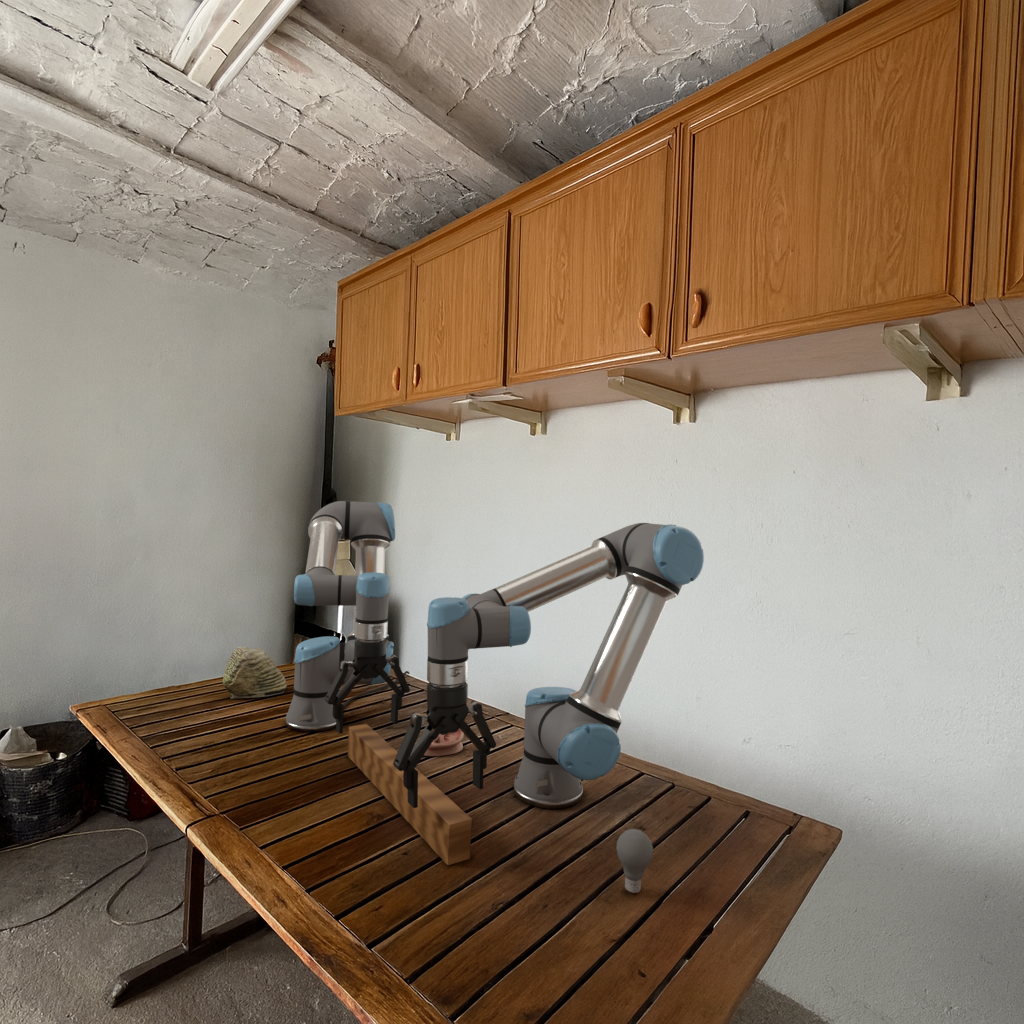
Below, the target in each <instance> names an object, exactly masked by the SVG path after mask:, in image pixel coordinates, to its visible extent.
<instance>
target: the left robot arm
mask: <svg viewBox="0 0 1024 1024" xmlns="http://www.w3.org/2000/svg"><path fill="white" fill-rule="evenodd" d="M307 533H308V537H309V539H310V540H309V547H308V553H307V559H306V567H305V573H303V574H298V575H296V577H295V578H294V584H293V585H294V586H293V587H294V588H293V600H294V604H296V605H298V606H309V607H313V606H314V607H318V606H325V607H327V606H341V607H342V606H345V607H346V606H348V607H349V606H350V607H351V606H352V607H353V623H352V624H353V625H352V631H351V632H350V633H349V634H348V635H347V638H346V639H347V641H346V642H341V640H340V638H339V637H337V636H330V635H329V636H328V635H327V636H319V637H313V638H309V639H306V640H303V641H302V642H299V643H298V644H297V645H296V648H295V655H294V660H293V663H294V674H293V675H294V680H293V695H292V696H293V697H292V699H291V702H290V704H289V708H288V711H287V713H286V715H285V726H286V728H287V729H289V730H291V731H294V732H295V731H296V732H301V733H316V732H325V731H329V730H332V729H335V731H336V732H337V733H338V734H339V735H340V734H341V735H342V734H344V715H345V714H344V713H345V712H344V710H345V707H346V706H347V705H348V704H349V703H350V702H351V701H353V700H355V699H358V698H361V697H363V696H366V695H370V694H372V693H375V692H379V691H381V690H383V689H386V688H388V687H389V688H390V689H391V690H392V691H393V692H394V693H391V700H390V721H391V723H393V724H394V725H397V724H399V710H400V709H402V706H403V697H405V694H406V693H407V694H409V693H410V691H411V689H410V686H409V684H408V682H407V679H406V677H405V676H406V674H407V675H411V674H410V672H409V670H406V671H404V672H403V670H402V668H401V666H400V658H399V656H396V655H395V654H394V646H395V643H394V642H393V641H391V640H390V641H389V638H390V637H389V636H390V635H389V634H388V624H389V621H388V620H389V602H390V591H391V587H390V577H389V575H388V574H386V573H385V572H386V571H385V570H386V551H387V550H388V549H389V548H390V547H391V542H394V541H395V540H396V521H395V514H394V509H393V507H392V505H390V504H389V503H387V502H379V501H347V500H338V501H334V502H330V503H328V504H326V505H324V506H323V507H321V508H320V509H319V510H318V511H317V512H315V514H314V515H313V516H312V517H311V519H310V521H309V524H308V530H307ZM340 540H348V541H350V547H352V548H353V549H354V550H355V563H354V564H355V567H354V575H353V574H351V575H350V574H349V575H347V574H337V563H338V550H339V549H338V548H339V541H340ZM391 669H392V670H393V672H394V675H395V677H396V679H395V680H393V679H392V678H391V677H390V674H391ZM385 683H386V684H385ZM396 683H398V684H399V686H400V687H399V686H398V685H397V684H396ZM380 684H385V685H383V686H380V687H378V688H374V689H371V690H369V691H365V692H363V693H359V694H357V695H354V696H352V697H350V698H348V699H347V700H346V701H345V699H346V698H347V697H348V696H349V694H350V693H351V692H352V691H353V689H354V688H355V687H356V686H362V685H370V686H373V685H380ZM344 701H345V702H344ZM343 702H344V703H343Z"/></svg>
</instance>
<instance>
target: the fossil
mask: <svg viewBox="0 0 1024 1024" xmlns="http://www.w3.org/2000/svg"><path fill="white" fill-rule="evenodd" d="M222 676H223V677H222V685H223V687H224V688H225V690H226V691H228V693H229V698H230V699H250V698H264V697H271V696H275V695H281V694H284V693H285V691H286V689H287V687H288V686H287V680H286V678H285V676H284V674H283V673H282V672H281V669H279V668H278V667H277V665H276V663H275V662H274V660H273V659H272V658H271V657H270V656H269V655H268V654H267V653H266V652H265V650H264V649H263V648H260V647H258V648H251V647H247V646H246V647H245V646H238V647H237V648H236V649H235V650H233V651H232V653H231V656H230V657H229V659H228V660H227V663H226V666H225V668H224V671H223V675H222Z"/></svg>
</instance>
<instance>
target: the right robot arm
mask: <svg viewBox="0 0 1024 1024" xmlns="http://www.w3.org/2000/svg"><path fill="white" fill-rule="evenodd" d="M590 545H591V546H590V547H587V548H585V549H582V550H580V551H578V552H575V553H573V554H571V555H569V556H566V557H564V558H561V559H559V560H556V561H555V562H551V563H550V564H547V565H545V566H543V567H541V568H538V569H536V570H534V571H532V572H530V573H527V574H525V575H522V576H520V577H517V578H515V579H513V580H511V581H508V582H506V583H503V584H501V585H498V586H497V587H494V588H492V589H490V590H487V591H484V592H482V593H477V592H476V593H468V594H466V595H464V596H462V597H456V596H455V597H451V596H448V597H447V596H446V597H437V598H434V599H432V600H431V601H430V602H429V604H428V611H427V622H426V627H427V661H426V662H427V663H426V681H427V682H428V683H427V684H426V707H427V708H426V710H425V712H424V713H418V712H416V711H413V712H411V713H410V718H409V724H408V727H407V730H406V732H405V734H404V736H403V739H402V742H401V743H400V746H399V747H398V750H397V752H398V753H397V755H396V757H395V760H394V762H393V765H394V766H395V767H396V768H397V769H398V770H399V771H403V778H404V779H403V784H404V787H405V788H406V789H407V790H408V803H409V804H410V805H411V806H412V807H413V808H417V807H418V771H419V770H418V769H417V768H416V767H417V766H418V764H419V763H420V761H421V760H422V758H423V757H424V754H425V752H426V751H427V749H428V748H429V746H430V745H431V743H432V742H433V740H435V739H437V737H438V736H439V734H441V735H445V734H447V733H449V732H451V733H454V732H457V730H458V729H460V730H461V731H462V732H463V733H464V736H465V737H466V738H467V739H468V740H469V741H470V743H472V745H473V746H474V747H475V748H476V749H475V750H472V786H474V787H476V788H477V789H478V790H483V789H484V770H486V769H487V766H488V764H487V762H488V755H490V754H491V749H495V748H496V747H497V742H496V740H495V738H494V736H493V733H492V731H491V729H490V727H489V724H488V723H487V721H486V718H485V716H484V713H483V712H484V711H483V705H482V704H481V703H480V702H478V701H476V700H474V699H473V700H471V701H470V703H467V702H468V698H469V697H468V695H469V694H468V693H469V692H468V691H469V689H468V688H469V685H468V683H467V681H468V680H469V679H468V678H469V675H468V673H469V650H477V649H489V648H490V649H491V648H492V649H493V648H505V647H508V648H512V647H515V646H523V645H525V644H527V643H528V641H529V639H530V638H531V634H532V622H531V617H530V614H529V613H530V612H531V611H534V610H536V609H538V608H540V607H542V606H545V605H547V604H549V603H552V602H554V601H556V600H558V599H561V598H563V597H565V596H567V595H569V594H571V593H573V592H576V591H579V590H580V589H583V588H584V587H587V586H590V585H592V584H594V583H596V582H599V581H600V580H603V579H606V580H610V581H611V580H614V579H616V578H618V577H622V576H625V579H626V581H627V586H626V588H625V591H624V592H623V594H622V597H621V599H620V601H619V604H618V606H617V607H616V610H615V612H614V615H613V616H612V619H611V621H610V623H609V624H608V625H609V626H608V628H607V629H606V632H605V634H604V636H603V638H602V641H601V643H600V645H599V647H598V649H597V652H596V654H595V656H594V658H593V660H592V662H591V664H590V666H589V669H588V671H587V673H586V675H585V678H584V679H583V682H582V684H581V687H580V689H578V690H576V689H574V688H571V687H563V686H542V687H535V688H532V689H530V690H529V691H528V692H527V694H526V698H525V704H524V732H523V733H524V734H523V754H522V755H523V756H522V759H521V762H520V764H519V768H518V771H517V774H516V775H515V777H514V782H513V793H514V796H515V797H516V798H517V799H518V800H520V801H521V802H523V803H524V804H527V805H530V806H531V807H532V806H533V807H536V808H542V809H551V810H552V809H554V810H555V809H563V808H569V807H573V806H574V805H577V804H578V803H580V801H582V799H583V796H584V795H583V794H584V787H583V781H594V780H597V779H599V778H602V777H604V776H606V775H607V774H609V773H610V772H611V771H612V770H613V768H615V766H616V765H617V762H618V761H619V759H620V755H621V750H622V748H621V747H622V745H621V743H620V741H621V740H620V737H619V735H618V734H617V733H618V731H619V729H620V727H621V724H622V722H623V719H622V716H621V713H620V708H621V705H622V703H623V701H624V699H625V697H626V695H627V692H628V690H629V687H630V686H631V683H632V680H633V679H634V676H635V674H636V671H637V669H638V667H639V665H640V664H641V660H642V658H643V656H644V654H645V651H646V649H647V647H648V645H649V643H650V640H651V638H652V636H653V634H654V631H655V629H656V627H657V624H658V623H659V620H660V618H661V616H662V613H663V611H664V609H665V607H666V604H667V603H668V602H669V601H672V600H674V599H677V598H678V596H679V594H680V592H681V590H682V587H683V586H685V585H688V584H690V583H691V582H694V581H695V580H697V578H698V577H699V576H700V575H701V572H702V570H703V568H704V562H705V554H704V549H703V548H702V543H701V541H700V538H698V536H697V535H696V534H695V533H694V531H692V530H690V529H688V528H687V527H684V526H678V525H676V524H673V523H672V524H662V523H661V524H660V523H649V522H637V523H633V524H630V525H627V526H624V527H622V528H619V529H616V530H614V531H612V532H610V533H608V534H606V535H604V536H601V537H599V538H596V539H594V540H593V541H592V543H591V544H590ZM469 714H470V715H471V717H472V719H473V721H474V723H475V725H476V727H477V729H478V732H479V734H480V736H481V738H482V740H483V741H482V740H481V738H479V736H478V735H477V734H476V733H475V732H474V730H473V729H472V728H471V727H470V725H469V724H468V723H467V722H466V718H467V717H468V715H469ZM425 722H427V724H426V725H425ZM422 727H424V728H423V733H422V734H421V735H420V733H421V731H422ZM419 736H420V737H419ZM416 742H417V743H416ZM415 743H416V744H415ZM414 745H415V746H414ZM415 768H416V769H417V770H418V771H417V770H416V769H415Z"/></svg>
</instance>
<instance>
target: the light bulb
mask: <svg viewBox="0 0 1024 1024" xmlns="http://www.w3.org/2000/svg"><path fill="white" fill-rule="evenodd" d="M615 849H616V854H617V857H618V859H619V861H620V863H621V865H622V867H623V873H624V874H623V875H624V876H625V878H624V888H625V890H627V891H628V892H630V893H634V894H635V893H639V892H640V891H641V889H642V887H641V886H642V879H643V877H644V875H645V871H646V868H647V867H648V866H649V864H650V863H651V861H652V859H653V855H654V847H653V843H652V841H651V838H649V836H648V835H647V834H646V833H645V832H643V831H642V830H641V829H636V828H629V829H627V830H625V831H623V832H622V833H621V834H620V835H619V837H618V839H617V841H616V847H615Z"/></svg>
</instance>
